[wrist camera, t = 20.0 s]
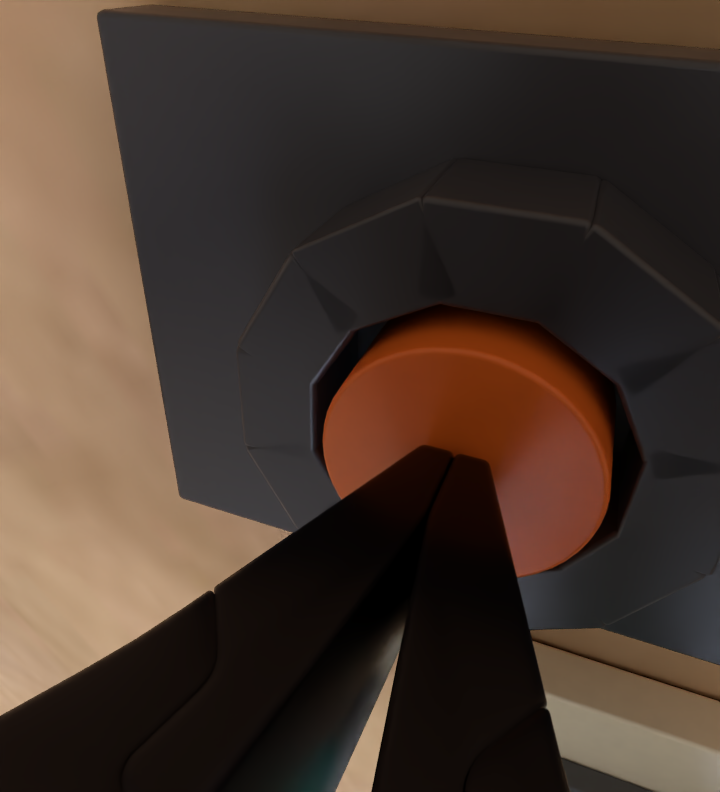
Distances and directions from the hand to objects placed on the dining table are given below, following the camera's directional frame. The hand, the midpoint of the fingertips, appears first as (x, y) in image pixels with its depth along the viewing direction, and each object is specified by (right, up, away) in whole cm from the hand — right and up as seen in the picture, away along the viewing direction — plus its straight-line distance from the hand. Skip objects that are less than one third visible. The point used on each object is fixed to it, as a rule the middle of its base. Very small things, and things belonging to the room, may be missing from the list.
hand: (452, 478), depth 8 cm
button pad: (+1, +2, +3) cm, 3 cm away
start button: (+1, +1, +1) cm, 2 cm away
